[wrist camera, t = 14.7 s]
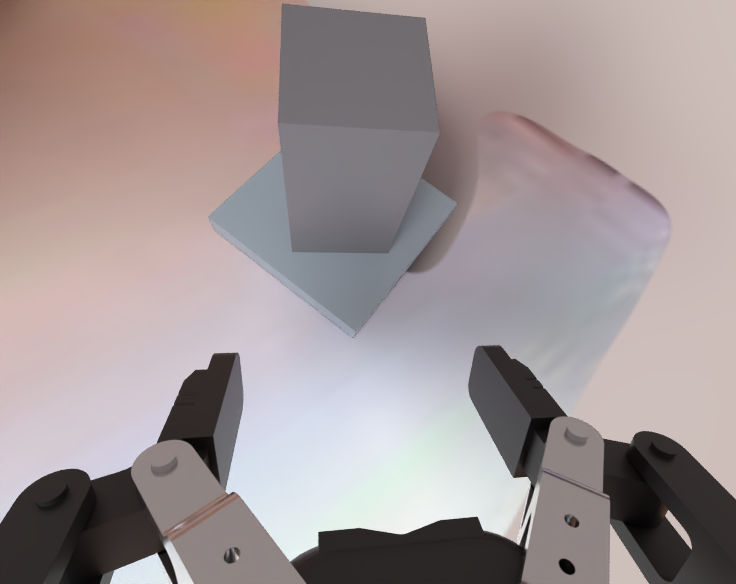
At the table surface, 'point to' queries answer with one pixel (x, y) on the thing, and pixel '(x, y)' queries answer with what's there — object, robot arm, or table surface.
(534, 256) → the table surface
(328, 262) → the stub base
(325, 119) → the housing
